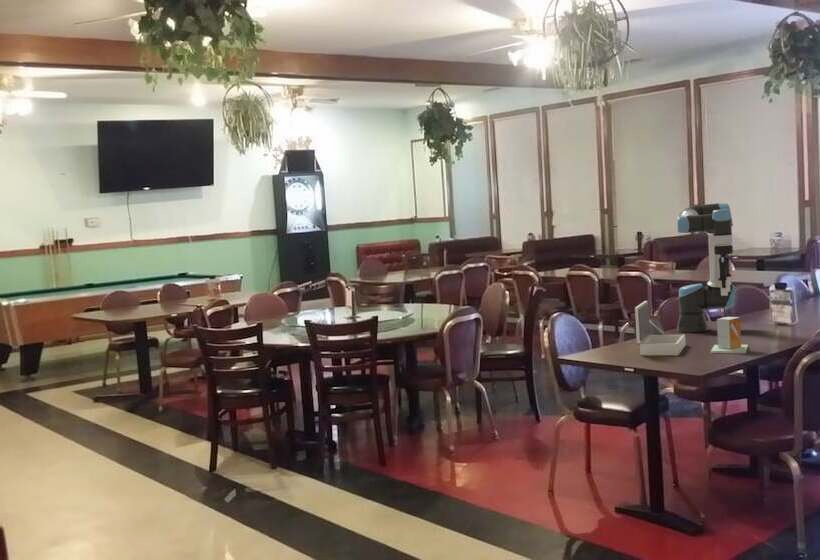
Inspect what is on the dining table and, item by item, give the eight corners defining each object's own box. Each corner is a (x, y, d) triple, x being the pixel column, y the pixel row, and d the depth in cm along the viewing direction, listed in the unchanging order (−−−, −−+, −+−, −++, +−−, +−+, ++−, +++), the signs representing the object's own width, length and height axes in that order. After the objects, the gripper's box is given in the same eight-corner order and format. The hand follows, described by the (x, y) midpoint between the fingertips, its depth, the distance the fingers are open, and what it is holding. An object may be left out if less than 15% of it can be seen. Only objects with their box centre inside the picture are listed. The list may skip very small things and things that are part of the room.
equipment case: (647, 345, 389) (645, 300, 388) (685, 344, 382) (683, 299, 380) (637, 355, 366) (634, 307, 364) (678, 355, 358) (675, 306, 357)
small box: (730, 349, 356) (729, 319, 355) (717, 348, 362) (716, 318, 361) (741, 346, 361) (740, 317, 360) (728, 345, 366) (727, 316, 365)
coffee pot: (663, 345, 384) (661, 313, 383) (639, 345, 391) (637, 314, 390) (676, 338, 402) (674, 307, 401) (652, 338, 408) (650, 308, 407)
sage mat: (714, 346, 371) (714, 344, 371) (748, 346, 365) (747, 344, 365) (710, 353, 357) (710, 351, 357) (745, 353, 351) (745, 350, 350)
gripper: (716, 243, 371) (719, 290, 373) (711, 247, 349) (713, 297, 350) (734, 242, 368) (737, 289, 369) (730, 246, 345) (732, 296, 347)
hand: (725, 293), depth 360 cm, fingers open, 13 cm apart
